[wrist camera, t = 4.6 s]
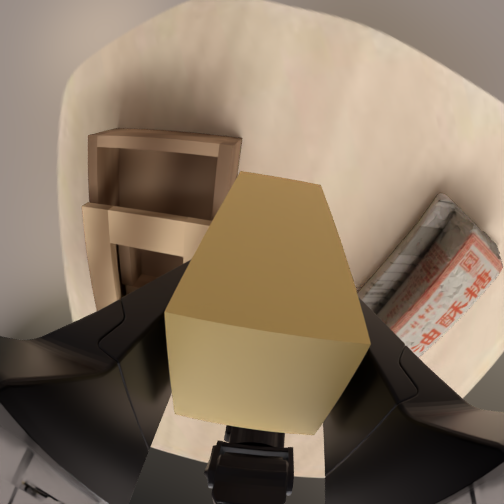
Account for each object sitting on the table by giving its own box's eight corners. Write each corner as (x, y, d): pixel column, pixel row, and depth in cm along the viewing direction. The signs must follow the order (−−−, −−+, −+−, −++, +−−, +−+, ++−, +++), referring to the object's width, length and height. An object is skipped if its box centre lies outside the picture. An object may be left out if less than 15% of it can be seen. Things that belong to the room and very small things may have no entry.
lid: (223, 222, 19) (213, 242, 16) (210, 362, 25) (203, 386, 22) (87, 202, 19) (65, 217, 17) (107, 336, 25) (94, 356, 23)
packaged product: (465, 207, 16) (521, 272, 18) (436, 186, 20) (494, 246, 22) (315, 374, 24) (390, 401, 26) (312, 337, 28) (381, 368, 30)
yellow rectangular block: (320, 185, 13) (370, 344, 5) (304, 254, 14) (314, 435, 6) (240, 171, 13) (164, 311, 5) (232, 242, 14) (174, 414, 7)
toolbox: (242, 138, 20) (232, 145, 17) (219, 332, 29) (210, 362, 25) (116, 128, 20) (88, 135, 17) (125, 310, 29) (108, 335, 25)
